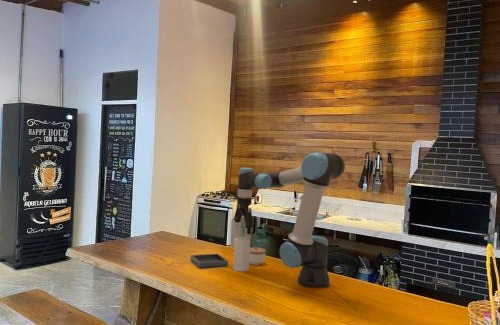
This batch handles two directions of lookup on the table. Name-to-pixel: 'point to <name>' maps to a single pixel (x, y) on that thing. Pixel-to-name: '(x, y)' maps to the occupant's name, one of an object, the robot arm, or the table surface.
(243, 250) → the cup
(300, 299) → the table surface
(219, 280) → the table surface
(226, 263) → the square metal tray
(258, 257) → the lidded jar
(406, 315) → the table surface
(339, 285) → the table surface
